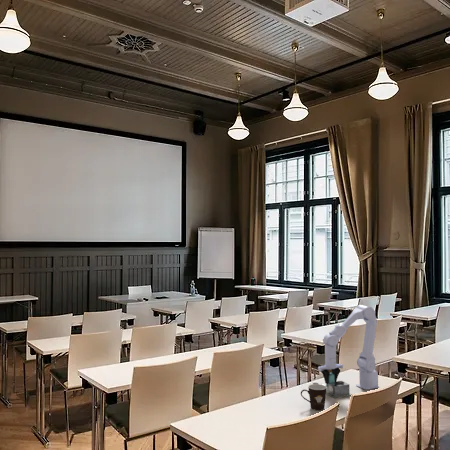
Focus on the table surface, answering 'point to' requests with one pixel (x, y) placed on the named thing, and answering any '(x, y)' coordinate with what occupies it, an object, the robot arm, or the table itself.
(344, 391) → the motor
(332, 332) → the robot arm
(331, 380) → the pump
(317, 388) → the coffee mug
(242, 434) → the table surface
